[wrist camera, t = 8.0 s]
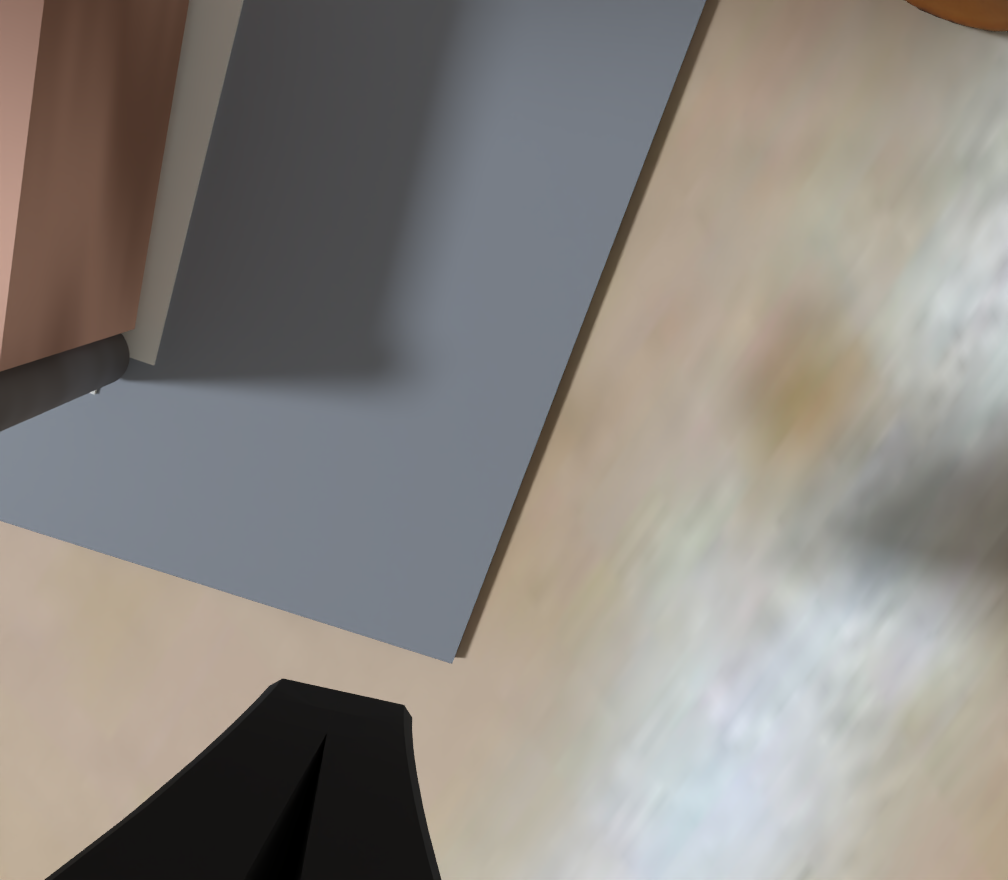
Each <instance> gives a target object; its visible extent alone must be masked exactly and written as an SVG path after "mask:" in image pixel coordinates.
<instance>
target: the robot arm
mask: <svg viewBox="0 0 1008 880" xmlns="http://www.w3.org/2000/svg"><path fill="white" fill-rule="evenodd" d="M45 880H441V877H440V873H439V869H438V865H437V862H436V858H435V854H434V850H433V846H432V843H431V839H430V835H429V831H428V827H427V822H426V818H425V813H424V809H423V804H422V799H421V794H420V788H419V783H418V777H417V772H416V765H415V758H414V749H413V738H412V717H411V715H410V714H409V712H408V710H407V709H406V707H405V706H404V705H402V704H397V703H392V702H388V701H383V700H379V699H374V698H370V697H365V696H360V695H356V694H351V693H347V692H342V691H338V690H333V689H328V688H324V687H319V686H315V685H310V684H305V683H301V682H296V681H292V680H287V679H281V680H279V681H277V682H276V683H274V684H272V685H270V686H269V687H268V688H267V689H266V690H265V691H264V692H263V693H262V694H261V696H260V697H259V698H258V699H257V700H256V701H255V702H254V703H253V704H252V705H251V706H250V707H249V708H248V709H247V710H246V711H245V712H244V713H243V714H242V715H241V716H240V717H239V718H238V719H237V720H236V721H235V722H234V723H233V724H232V725H231V726H230V727H229V728H227V729H226V730H225V731H224V732H223V733H222V734H221V735H220V736H219V737H218V738H217V739H216V740H215V741H213V742H212V743H211V744H210V745H209V746H208V747H207V748H206V749H205V750H204V751H203V752H202V753H200V754H199V755H198V756H197V757H196V758H195V759H194V760H193V761H191V762H190V763H189V764H188V765H187V766H186V767H184V768H183V769H182V770H181V771H180V772H179V773H177V774H176V775H175V776H174V777H173V778H172V779H170V780H169V781H168V782H167V783H166V784H165V785H163V786H162V787H161V788H160V789H159V790H158V791H156V792H155V793H154V794H153V795H152V796H151V797H149V798H148V799H147V800H146V801H145V802H143V803H142V804H141V805H140V806H139V807H138V808H136V809H135V810H134V811H133V812H132V813H130V814H129V815H128V816H127V817H125V818H124V819H123V820H122V821H120V822H119V823H118V824H117V825H115V826H114V827H113V828H111V829H110V830H109V831H107V832H106V833H105V834H104V835H102V836H101V837H100V838H98V839H97V840H96V841H94V842H93V843H92V844H90V845H89V846H88V847H87V848H85V849H84V850H83V851H81V852H80V853H79V854H77V855H76V856H75V857H74V858H72V859H71V860H70V861H68V862H67V863H66V864H64V865H63V866H62V867H60V868H59V869H58V870H57V871H55V872H54V873H53V874H51V875H50V876H49V877H47V878H46V879H45Z"/></svg>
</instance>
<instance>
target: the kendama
mask: <svg viewBox="0 0 1008 880" xmlns="http://www.w3.org/2000/svg"><path fill="white" fill-rule="evenodd" d="M905 1H907V2H908V3H910V4H911V5H913V6H915V7H917V8H918V9H920V10H922V11H924V12H927V13H929V14H932V15H934V16H936V17H939V18H943V19H945V20H948V21H951V22H953V23H957V24H961V25H965V26H969V27H973V28H979V29H983V30H989V31H1008V0H905Z"/></svg>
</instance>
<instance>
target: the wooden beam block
mask: <svg viewBox="0 0 1008 880" xmlns="http://www.w3.org/2000/svg"><path fill="white" fill-rule="evenodd" d="M188 5H189V0H0V432H1V431H3V430H5V429H8V428H10V427H12V426H15V425H17V424H19V423H21V422H24V421H26V420H28V419H31V418H33V417H35V416H37V415H40V414H42V413H44V412H47V411H49V410H51V409H53V408H56V407H58V406H60V405H63V404H65V403H67V402H70V401H72V400H74V399H76V398H79V397H81V396H83V395H86V394H88V393H90V392H92V391H95V390H97V389H99V388H102V387H104V386H106V385H108V384H111V383H113V382H115V381H117V380H118V379H119V378H120V377H122V376H123V374H124V373H125V371H126V370H127V367H128V364H129V358H130V354H129V348H128V344H127V342H126V340H125V338H124V336H123V335H122V334H121V333H123V332H127V331H130V330H133V329H135V324H136V318H137V312H138V306H139V299H140V293H141V287H142V281H143V275H144V269H145V263H146V257H147V251H148V245H149V239H150V233H151V227H152V221H153V215H154V209H155V203H156V197H157V191H158V185H159V179H160V173H161V167H162V161H163V155H164V149H165V143H166V137H167V131H168V125H169V119H170V113H171V107H172V101H173V95H174V89H175V83H176V77H177V71H178V65H179V59H180V53H181V47H182V41H183V35H184V29H185V23H186V17H187V11H188Z"/></svg>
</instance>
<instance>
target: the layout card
mask: <svg viewBox="0 0 1008 880" xmlns="http://www.w3.org/2000/svg"><path fill="white" fill-rule="evenodd" d="M705 2H706V0H189V5H188V11H187V17H186V23H185V29H184V35H183V41H182V47H181V53H180V59H179V65H178V71H177V77H176V83H175V89H174V95H173V101H172V107H171V113H170V119H169V125H168V131H167V137H166V143H165V149H164V155H163V161H162V167H161V173H160V179H159V185H158V191H157V197H156V203H155V209H154V215H153V221H152V227H151V233H150V239H149V245H148V251H147V257H146V263H145V269H144V275H143V281H142V287H141V293H140V299H139V306H138V312H137V318H136V324H135V329H133V330H130V331H127V332H123V333H121V334H122V335H123V336H124V338H125V340H126V342H127V344H128V348H129V354H130V358H129V364H128V367H127V370H126V371H125V373H124V374H123V376H122V377H120V378H119V379H118V380H117V381H115V382H113V383H111V384H108V385H106V386H104V387H102V388H99V389H97V390H95V391H92V392H90V393H88V394H86V395H83V396H81V397H79V398H76V399H74V400H72V401H70V402H67V403H65V404H63V405H60V406H58V407H56V408H53V409H51V410H49V411H47V412H44V413H42V414H40V415H37V416H35V417H33V418H31V419H28V420H26V421H24V422H21V423H19V424H17V425H15V426H12V427H10V428H8V429H5V430H3V431H1V432H0V521H3V522H6V523H9V524H12V525H15V526H18V527H22V528H25V529H28V530H31V531H34V532H37V533H40V534H44V535H47V536H50V537H53V538H56V539H59V540H63V541H66V542H69V543H72V544H75V545H78V546H82V547H85V548H88V549H91V550H94V551H97V552H101V553H104V554H107V555H110V556H113V557H116V558H119V559H123V560H126V561H129V562H132V563H135V564H138V565H142V566H145V567H148V568H151V569H154V570H157V571H161V572H164V573H167V574H170V575H173V576H176V577H180V578H183V579H186V580H189V581H192V582H195V583H198V584H202V585H205V586H208V587H211V588H214V589H217V590H221V591H224V592H227V593H230V594H233V595H236V596H240V597H243V598H246V599H249V600H252V601H255V602H259V603H262V604H265V605H268V606H271V607H274V608H277V609H281V610H284V611H287V612H290V613H293V614H296V615H300V616H303V617H306V618H309V619H312V620H315V621H319V622H322V623H325V624H328V625H331V626H334V627H338V628H341V629H344V630H347V631H350V632H353V633H356V634H360V635H363V636H366V637H369V638H372V639H375V640H379V641H382V642H385V643H388V644H391V645H394V646H398V647H401V648H404V649H407V650H410V651H413V652H417V653H420V654H423V655H426V656H429V657H432V658H435V659H439V660H442V661H445V662H448V663H451V664H452V662H453V660H454V657H455V654H456V652H457V649H458V647H459V644H460V641H461V639H462V636H463V633H464V631H465V628H466V626H467V623H468V620H469V618H470V615H471V613H472V610H473V607H474V605H475V602H476V600H477V597H478V594H479V592H480V589H481V587H482V584H483V581H484V579H485V576H486V573H487V571H488V568H489V566H490V563H491V560H492V558H493V555H494V553H495V550H496V547H497V545H498V542H499V540H500V537H501V534H502V532H503V529H504V526H505V524H506V521H507V519H508V516H509V513H510V511H511V508H512V506H513V503H514V500H515V498H516V495H517V493H518V490H519V487H520V485H521V482H522V480H523V477H524V474H525V472H526V469H527V466H528V464H529V461H530V459H531V456H532V453H533V451H534V448H535V446H536V443H537V440H538V438H539V435H540V433H541V430H542V427H543V425H544V422H545V420H546V417H547V414H548V412H549V409H550V406H551V404H552V401H553V399H554V396H555V393H556V391H557V388H558V386H559V383H560V380H561V378H562V375H563V373H564V370H565V367H566V365H567V362H568V359H569V357H570V354H571V352H572V349H573V346H574V344H575V341H576V339H577V336H578V333H579V331H580V328H581V326H582V323H583V320H584V318H585V315H586V313H587V310H588V307H589V305H590V302H591V299H592V297H593V294H594V292H595V289H596V286H597V284H598V281H599V279H600V276H601V273H602V271H603V268H604V266H605V263H606V260H607V258H608V255H609V252H610V250H611V247H612V245H613V242H614V239H615V237H616V234H617V232H618V229H619V226H620V224H621V221H622V219H623V216H624V213H625V211H626V208H627V206H628V203H629V200H630V198H631V195H632V192H633V190H634V187H635V185H636V182H637V179H638V177H639V174H640V172H641V169H642V166H643V164H644V161H645V159H646V156H647V153H648V151H649V148H650V145H651V143H652V140H653V138H654V135H655V132H656V130H657V127H658V125H659V122H660V119H661V117H662V114H663V112H664V109H665V106H666V104H667V101H668V99H669V96H670V93H671V91H672V88H673V85H674V83H675V80H676V78H677V75H678V72H679V70H680V67H681V65H682V62H683V59H684V57H685V54H686V52H687V49H688V46H689V44H690V41H691V39H692V36H693V33H694V31H695V28H696V25H697V23H698V20H699V18H700V15H701V12H702V10H703V7H704V5H705Z"/></svg>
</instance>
